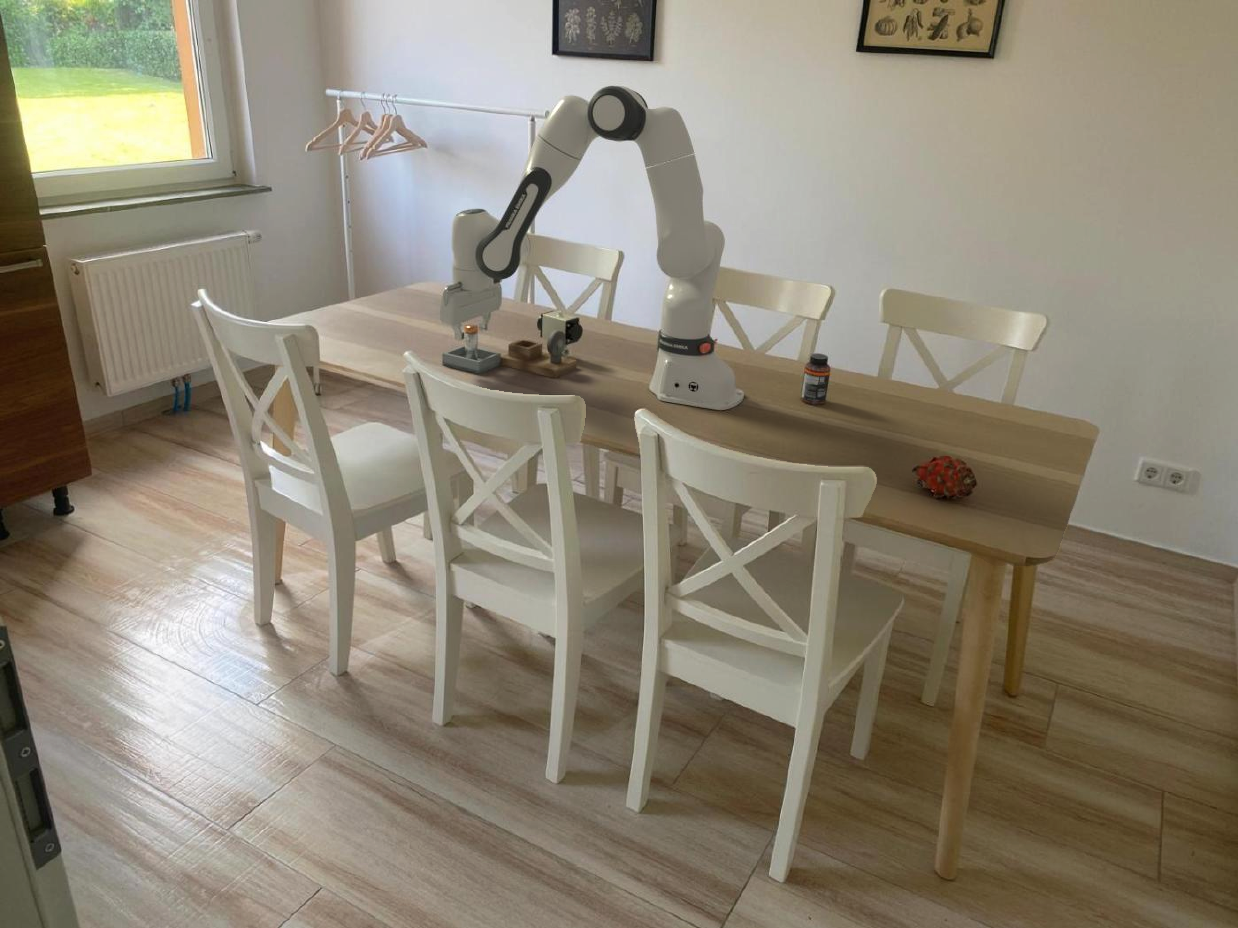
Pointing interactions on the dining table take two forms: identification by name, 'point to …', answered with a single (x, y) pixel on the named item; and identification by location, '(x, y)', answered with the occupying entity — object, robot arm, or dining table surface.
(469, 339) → the lock pin
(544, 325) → the pneumatic valve
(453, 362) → the parts tray
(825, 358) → the supplement bottle
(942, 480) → the dragon fruit
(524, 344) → the wooden desk organizer
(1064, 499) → the dining table surface
